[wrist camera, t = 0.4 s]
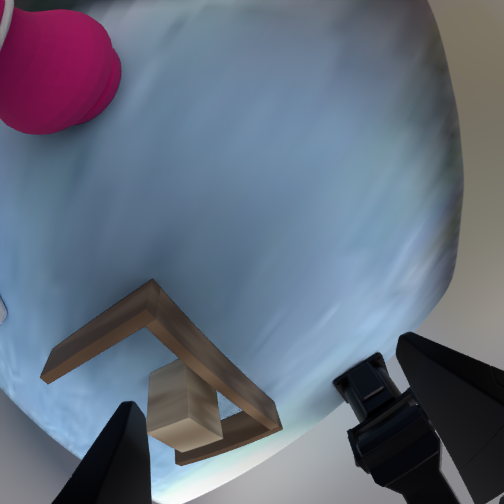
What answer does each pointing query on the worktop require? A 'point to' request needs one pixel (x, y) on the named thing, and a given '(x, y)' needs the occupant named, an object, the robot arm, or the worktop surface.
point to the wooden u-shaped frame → (186, 349)
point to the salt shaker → (2, 311)
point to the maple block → (182, 408)
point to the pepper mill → (53, 69)
